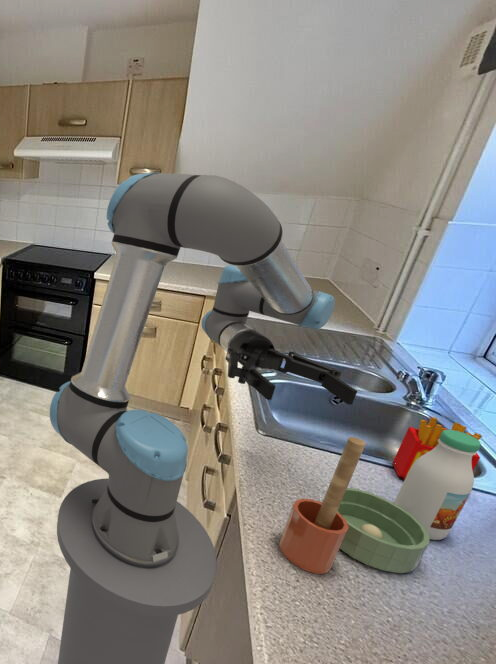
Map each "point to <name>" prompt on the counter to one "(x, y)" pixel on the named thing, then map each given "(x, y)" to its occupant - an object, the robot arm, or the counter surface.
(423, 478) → the milk bottle
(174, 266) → the counter surface
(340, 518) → the utensil cup
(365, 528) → the ball
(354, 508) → the bowl
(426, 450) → the french fries container
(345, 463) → the stirring stick
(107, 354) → the robot arm
